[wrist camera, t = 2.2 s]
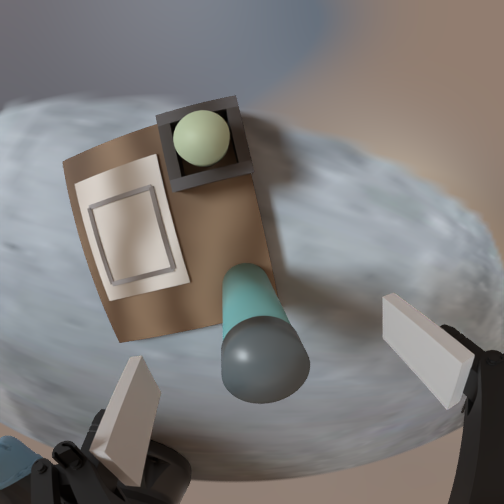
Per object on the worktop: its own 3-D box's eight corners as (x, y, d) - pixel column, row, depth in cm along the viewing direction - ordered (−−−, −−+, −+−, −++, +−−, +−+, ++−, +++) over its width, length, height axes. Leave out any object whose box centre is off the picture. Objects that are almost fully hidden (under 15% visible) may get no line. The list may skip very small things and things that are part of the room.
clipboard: (123, 336, 25) (112, 356, 22) (68, 162, 20) (48, 160, 17) (278, 303, 26) (286, 320, 22) (233, 108, 21) (235, 95, 18)
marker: (228, 312, 24) (234, 410, 13) (215, 268, 23) (210, 348, 11) (274, 301, 24) (314, 390, 13) (264, 256, 23) (304, 325, 12)
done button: (185, 172, 19) (179, 170, 17) (175, 127, 18) (168, 118, 16) (233, 160, 19) (235, 156, 17) (222, 115, 19) (222, 104, 16)
